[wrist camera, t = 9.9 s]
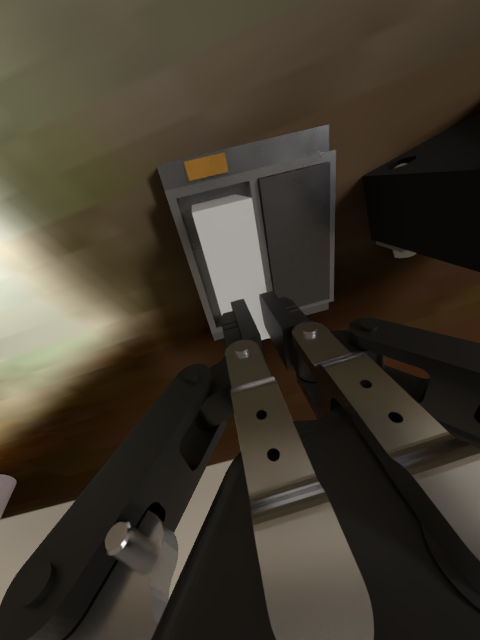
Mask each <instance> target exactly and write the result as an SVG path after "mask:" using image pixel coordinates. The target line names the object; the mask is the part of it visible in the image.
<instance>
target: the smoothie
mask: <svg viewBox="0 0 480 640" xmlns="http://www.w3.org/2000/svg"><path fill="white" fill-rule="evenodd" d="M16 483H17V481H16V480H15V479H14V478H13V477H11V476H8V475H2V474H0V519H1V516H2V514H3V512H4V510H5V508H6V505H7V503H8V501H9V499H10V497H11V494H12V492H13V490H14V488H15V485H16Z"/></svg>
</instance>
